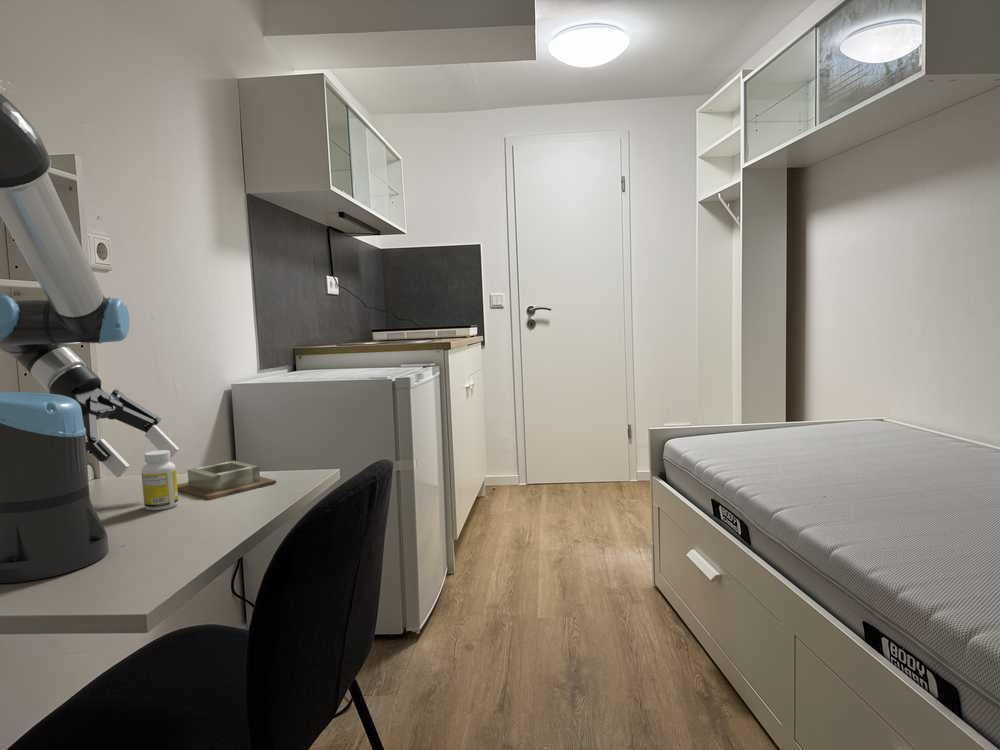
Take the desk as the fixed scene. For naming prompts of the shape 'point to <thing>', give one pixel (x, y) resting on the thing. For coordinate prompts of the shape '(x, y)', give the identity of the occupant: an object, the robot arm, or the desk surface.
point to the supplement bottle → (159, 481)
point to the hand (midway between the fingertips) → (150, 462)
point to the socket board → (223, 480)
